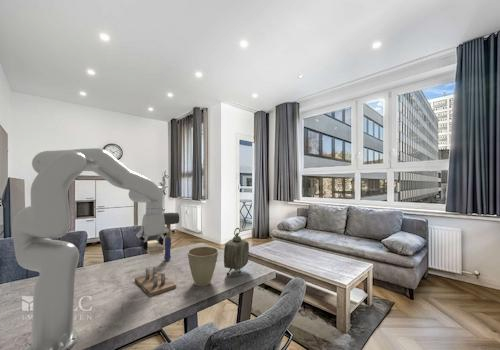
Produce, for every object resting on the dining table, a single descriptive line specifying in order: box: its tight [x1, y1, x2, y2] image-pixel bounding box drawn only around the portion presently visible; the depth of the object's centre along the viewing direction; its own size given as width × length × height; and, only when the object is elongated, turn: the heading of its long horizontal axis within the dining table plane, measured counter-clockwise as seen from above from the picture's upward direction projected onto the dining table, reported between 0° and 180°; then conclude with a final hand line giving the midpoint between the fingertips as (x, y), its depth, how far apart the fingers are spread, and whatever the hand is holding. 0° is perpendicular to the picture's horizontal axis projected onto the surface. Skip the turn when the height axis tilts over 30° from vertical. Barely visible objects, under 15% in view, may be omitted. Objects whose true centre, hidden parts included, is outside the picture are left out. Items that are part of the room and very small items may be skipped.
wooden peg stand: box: [134, 266, 177, 297], centre depth 111 cm, size 20×12×6 cm, turn 44°
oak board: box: [145, 239, 165, 256], centre depth 110 cm, size 14×6×3 cm, turn 37°
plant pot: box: [187, 246, 219, 287], centre depth 114 cm, size 15×15×16 cm
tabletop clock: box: [223, 227, 250, 276], centre depth 127 cm, size 14×9×25 cm, turn 159°
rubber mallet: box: [163, 212, 180, 262], centre depth 145 cm, size 12×8×30 cm, turn 119°
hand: (153, 247), depth 110 cm, fingers closed on oak board, 6 cm apart
